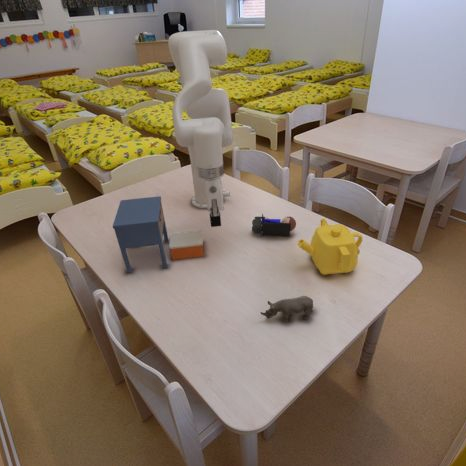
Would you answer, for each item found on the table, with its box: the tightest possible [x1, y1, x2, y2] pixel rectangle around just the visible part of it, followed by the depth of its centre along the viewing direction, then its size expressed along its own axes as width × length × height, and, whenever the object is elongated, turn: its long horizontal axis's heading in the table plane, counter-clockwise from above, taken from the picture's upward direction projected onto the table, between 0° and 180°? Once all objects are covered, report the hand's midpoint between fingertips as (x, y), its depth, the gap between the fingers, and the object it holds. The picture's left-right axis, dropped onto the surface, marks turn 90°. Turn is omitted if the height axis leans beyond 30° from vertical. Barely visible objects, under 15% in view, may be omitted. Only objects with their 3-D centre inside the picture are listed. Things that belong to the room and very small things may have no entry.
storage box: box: [168, 229, 205, 261], centre depth 109 cm, size 10×8×5 cm
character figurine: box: [251, 213, 297, 238], centre depth 114 cm, size 8×7×15 cm
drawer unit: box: [112, 195, 170, 274], centre depth 104 cm, size 12×15×17 cm
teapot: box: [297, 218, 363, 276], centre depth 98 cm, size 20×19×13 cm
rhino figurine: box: [260, 295, 314, 323], centre depth 83 cm, size 4×14×6 cm, turn 97°
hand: (215, 225), depth 105 cm, fingers closed
